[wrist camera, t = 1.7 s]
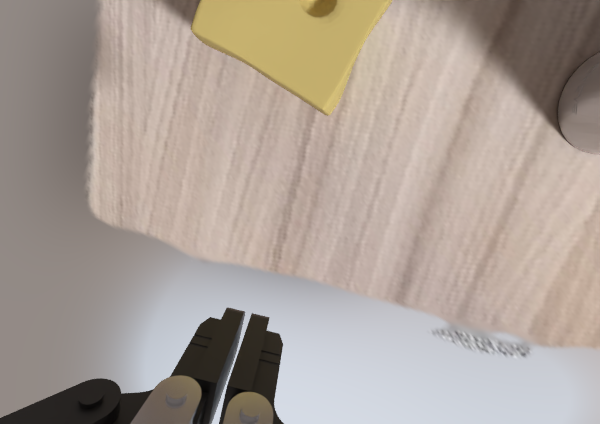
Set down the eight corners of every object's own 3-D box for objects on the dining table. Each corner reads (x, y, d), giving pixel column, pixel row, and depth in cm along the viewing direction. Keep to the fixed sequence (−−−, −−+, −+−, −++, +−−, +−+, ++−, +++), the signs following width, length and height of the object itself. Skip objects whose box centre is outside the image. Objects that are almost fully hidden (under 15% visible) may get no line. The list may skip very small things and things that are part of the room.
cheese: (283, -60, 26) (263, -160, 17) (389, 15, 27) (427, -40, 18) (226, 58, 29) (182, 29, 20) (324, 121, 30) (327, 122, 21)
